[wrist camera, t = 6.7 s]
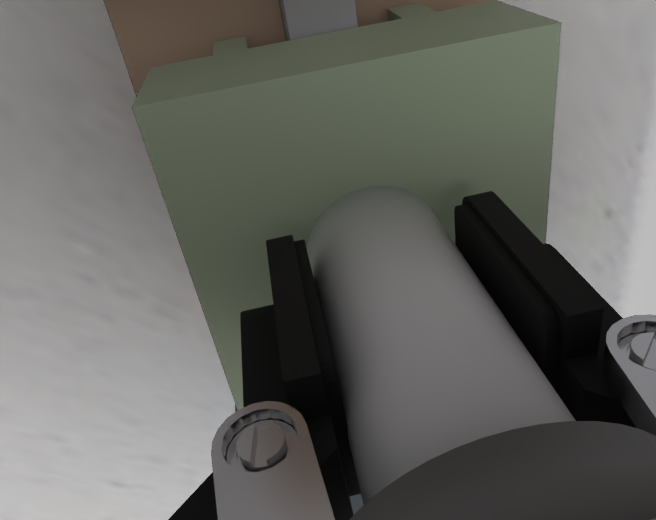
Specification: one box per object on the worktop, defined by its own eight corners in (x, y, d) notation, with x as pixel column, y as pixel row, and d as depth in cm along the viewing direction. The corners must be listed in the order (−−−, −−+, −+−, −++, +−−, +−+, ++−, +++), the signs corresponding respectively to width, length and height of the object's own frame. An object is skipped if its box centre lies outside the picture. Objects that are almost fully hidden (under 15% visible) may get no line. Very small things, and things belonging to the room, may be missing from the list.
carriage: (474, 255, 19) (811, 724, 8) (235, 307, 18) (250, 872, 7) (471, -8, 14) (1216, 245, 4) (157, 52, 14) (-73, 542, 3)
